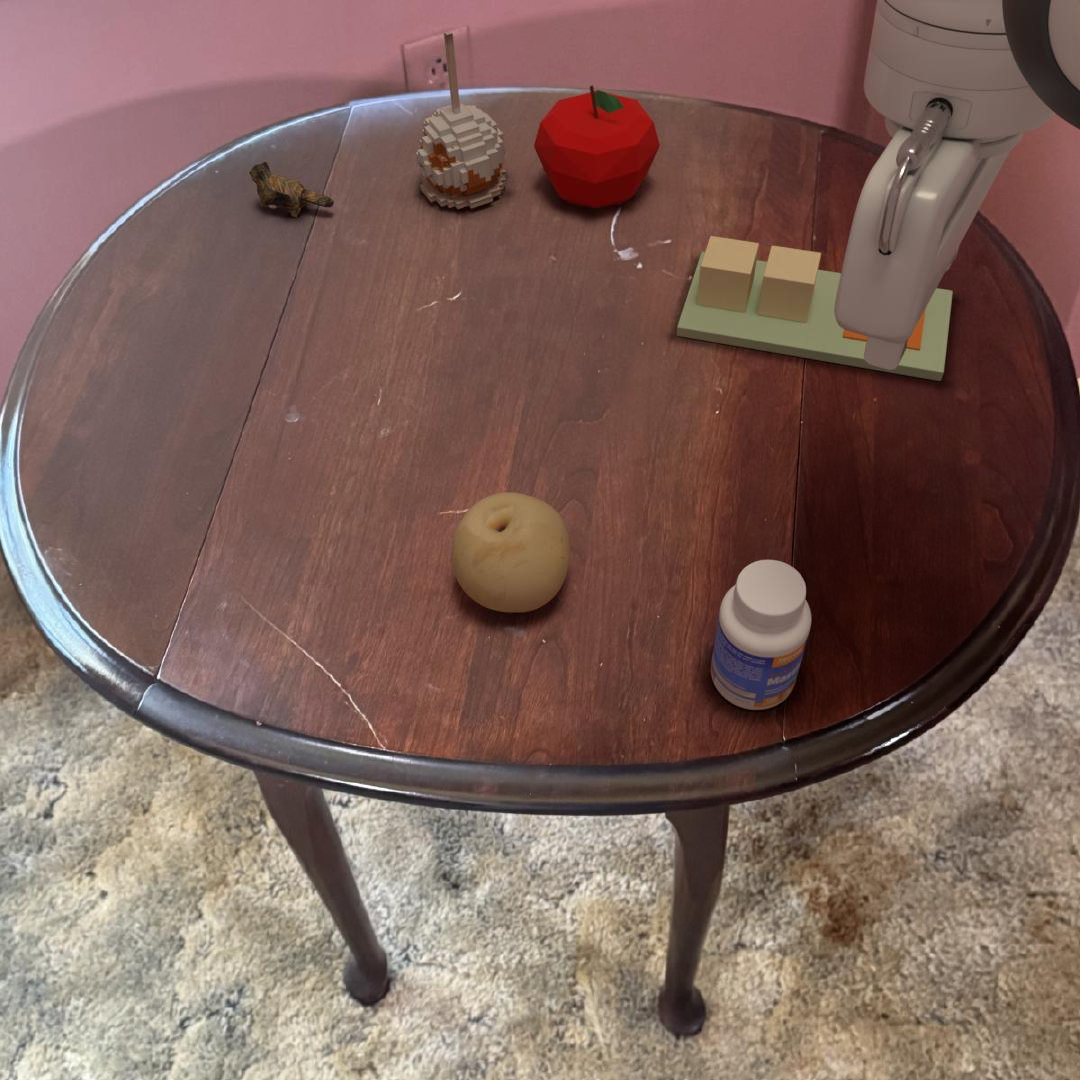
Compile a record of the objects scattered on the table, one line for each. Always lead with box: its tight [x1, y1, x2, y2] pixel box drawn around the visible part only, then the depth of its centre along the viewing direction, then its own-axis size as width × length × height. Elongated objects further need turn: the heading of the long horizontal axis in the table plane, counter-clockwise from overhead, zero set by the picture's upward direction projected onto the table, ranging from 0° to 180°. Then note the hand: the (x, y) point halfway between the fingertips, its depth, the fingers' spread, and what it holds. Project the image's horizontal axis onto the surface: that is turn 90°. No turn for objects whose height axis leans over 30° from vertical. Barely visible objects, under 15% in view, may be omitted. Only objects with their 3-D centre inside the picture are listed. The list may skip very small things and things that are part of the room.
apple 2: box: [533, 84, 661, 210], centre depth 100 cm, size 11×11×10 cm
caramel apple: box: [415, 29, 507, 210], centre depth 98 cm, size 8×8×15 cm
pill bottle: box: [710, 559, 812, 711], centre depth 67 cm, size 5×5×10 cm
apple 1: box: [450, 491, 571, 613], centre depth 74 cm, size 8×8×8 cm
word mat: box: [676, 235, 954, 382], centre depth 90 cm, size 21×10×5 cm, turn 73°
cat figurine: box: [248, 161, 335, 218], centre depth 102 cm, size 3×8×4 cm, turn 74°
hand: (910, 309), depth 60 cm, fingers open, 8 cm apart
